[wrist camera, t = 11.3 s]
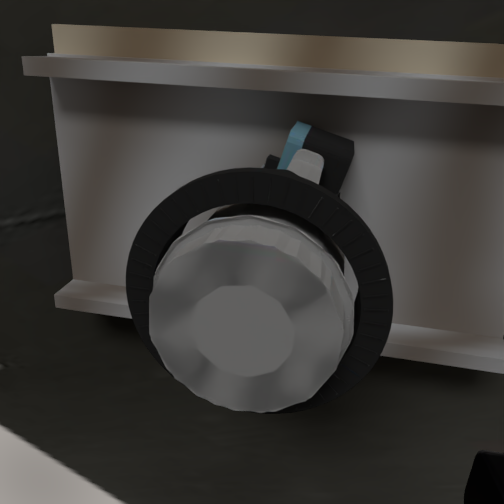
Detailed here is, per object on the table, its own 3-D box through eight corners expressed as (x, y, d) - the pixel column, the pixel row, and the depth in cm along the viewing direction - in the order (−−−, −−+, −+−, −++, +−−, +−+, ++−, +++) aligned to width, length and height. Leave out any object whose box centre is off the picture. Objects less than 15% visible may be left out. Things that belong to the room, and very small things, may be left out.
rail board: (569, 48, 15) (616, 46, 13) (482, 352, 20) (502, 398, 17) (66, 25, 18) (16, 20, 16) (93, 296, 23) (58, 329, 20)
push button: (326, 301, 19) (304, 527, 10) (203, 254, 19) (72, 432, 10) (397, 145, 16) (458, 258, 7) (253, 92, 16) (133, 137, 7)
